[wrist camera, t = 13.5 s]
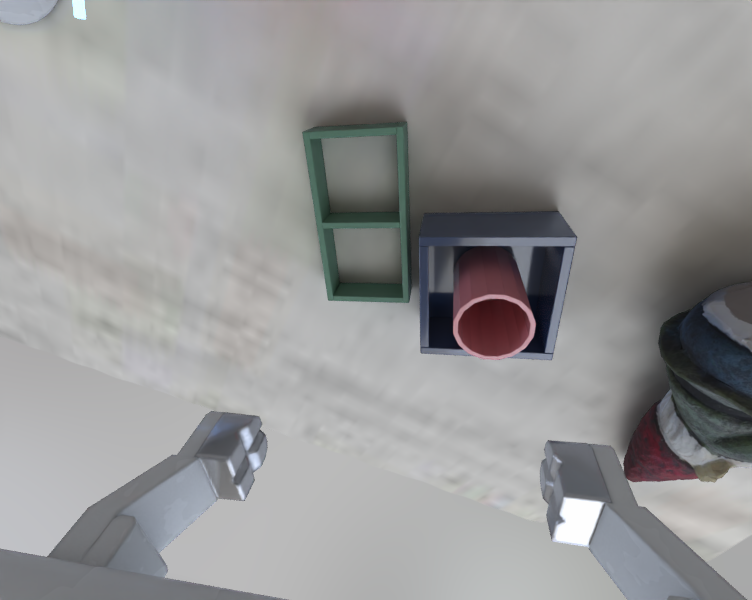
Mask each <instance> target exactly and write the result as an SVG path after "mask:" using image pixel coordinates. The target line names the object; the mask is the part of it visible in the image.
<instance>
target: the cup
mask: <svg viewBox="0 0 752 600" xmlns="http://www.w3.org/2000/svg"><path fill="white" fill-rule="evenodd" d="M535 327H536V321H535V318H534V315H533V312H532V309H531V306H530V302H529V299H528V296H527V293H526V290H525V287H524V284H523V280H522V277H521V274H520V271H519V268H518V265H517V262H516V260H515V259H514V257H513V256H512V255H511V254H510V253H509V252H508V251H506V250H505V249H503V248H501V247H497V246H478V247H475V248H472V249H470V250H468V251H467V252H465V253H464V254H463V255H462V256H461V257H460V258H459V259H458V261H457V263H456V265H455V268H454V273H453V334H454V337H455V339H456V341H457V343H458V345H459V346H460V347H461V348H463V349H464V350H465V351H466V352H467V353H468V354H470V355H473V356H476V357H478V358H481V359H491V360H500V359H504V358H508V357H512V356H514V355H516V354H517V353H519V352H520V351H522V350H523V349H525V348H526V347H527V346H528V344H529V343H530V341H531V340H532V339H533V337H534V333H535Z"/></svg>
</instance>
